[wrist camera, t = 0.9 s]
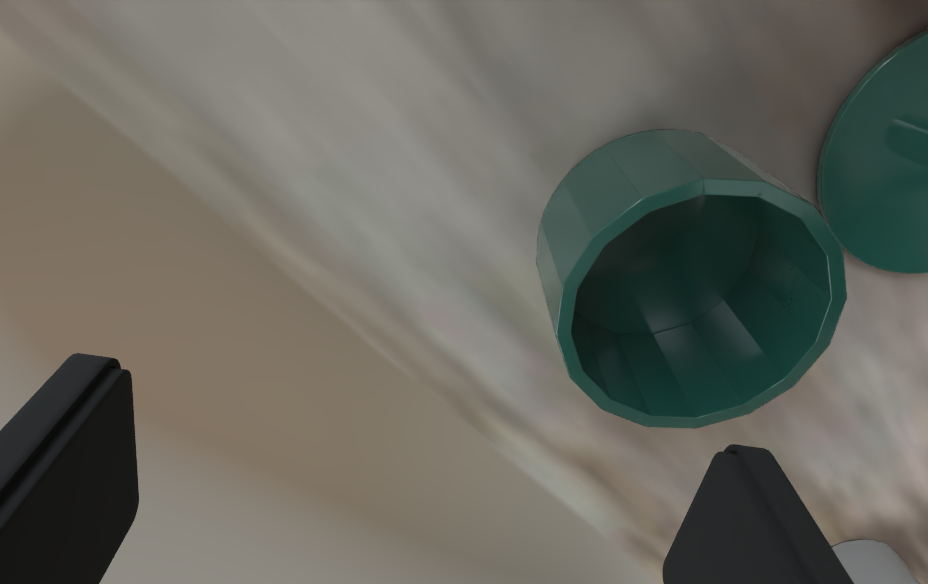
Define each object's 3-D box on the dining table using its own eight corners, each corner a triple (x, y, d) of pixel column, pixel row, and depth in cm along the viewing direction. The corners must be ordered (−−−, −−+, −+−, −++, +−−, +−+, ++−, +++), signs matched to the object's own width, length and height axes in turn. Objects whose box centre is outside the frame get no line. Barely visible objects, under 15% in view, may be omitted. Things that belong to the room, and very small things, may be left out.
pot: (507, 176, 40) (522, 237, 31) (748, 93, 38) (833, 135, 29) (569, 363, 46) (596, 456, 38) (778, 302, 44) (855, 385, 36)
